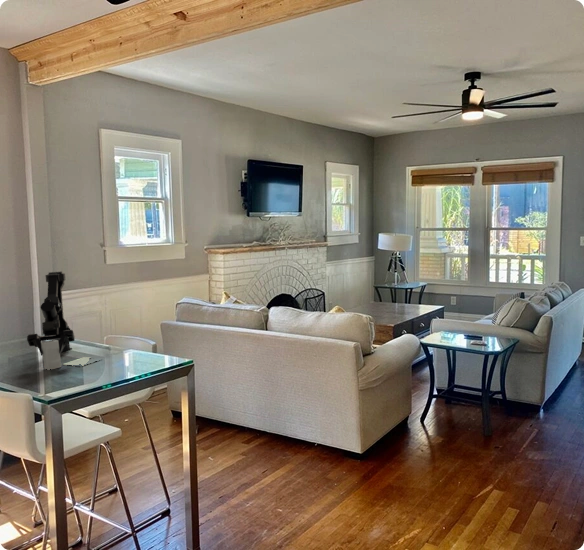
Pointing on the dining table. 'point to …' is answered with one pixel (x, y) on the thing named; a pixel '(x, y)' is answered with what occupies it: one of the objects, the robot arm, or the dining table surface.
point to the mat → (78, 361)
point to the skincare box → (51, 354)
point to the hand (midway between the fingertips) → (50, 354)
